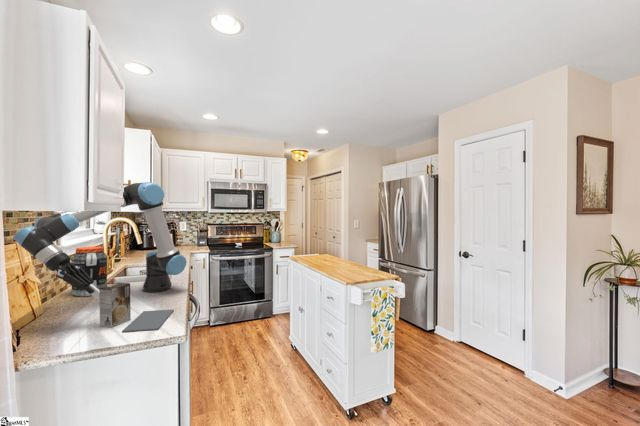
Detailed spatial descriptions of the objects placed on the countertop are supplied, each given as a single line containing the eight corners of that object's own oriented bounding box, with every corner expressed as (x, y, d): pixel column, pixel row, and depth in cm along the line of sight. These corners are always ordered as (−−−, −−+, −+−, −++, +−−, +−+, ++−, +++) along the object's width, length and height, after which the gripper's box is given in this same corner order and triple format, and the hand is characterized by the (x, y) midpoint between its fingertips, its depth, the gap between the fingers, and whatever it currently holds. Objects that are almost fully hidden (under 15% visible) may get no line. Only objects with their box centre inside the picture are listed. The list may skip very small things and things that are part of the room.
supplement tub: (102, 295, 158) (102, 248, 158) (66, 298, 153) (66, 250, 152) (110, 288, 173) (110, 245, 173) (78, 290, 167) (78, 246, 167)
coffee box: (118, 318, 127) (118, 282, 127) (131, 319, 126) (131, 283, 126) (99, 326, 118) (99, 287, 118) (112, 327, 117) (112, 288, 117)
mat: (143, 312, 134) (143, 311, 134) (173, 310, 137) (173, 309, 137) (122, 332, 113) (122, 330, 113) (158, 329, 116) (158, 328, 116)
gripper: (57, 261, 122) (101, 298, 126) (34, 268, 110) (84, 309, 113) (72, 249, 123) (115, 286, 127) (50, 254, 111) (99, 295, 114)
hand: (100, 297), depth 120 cm, fingers closed
